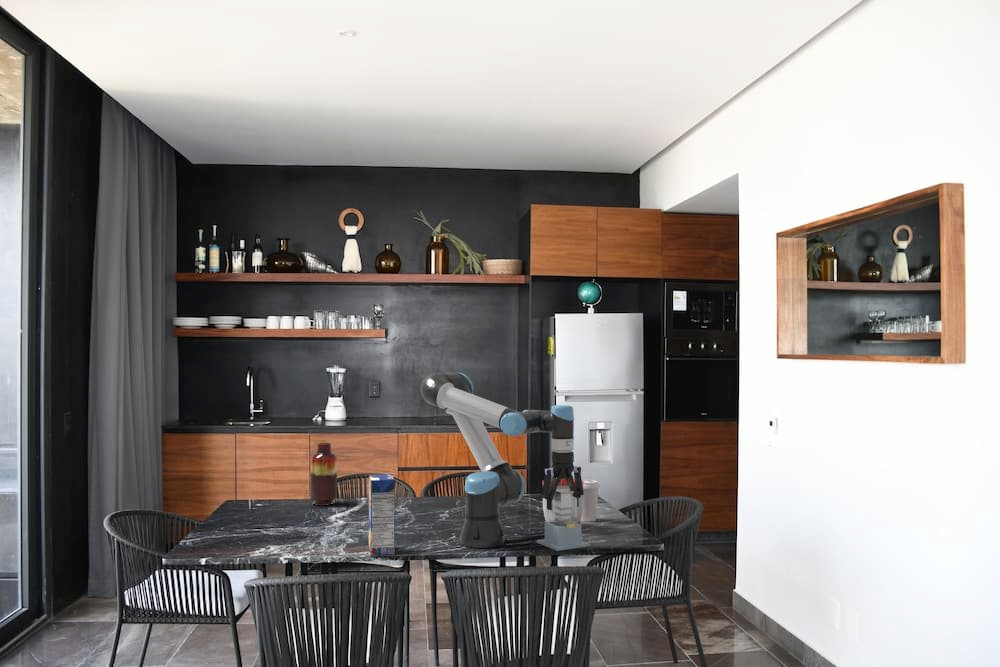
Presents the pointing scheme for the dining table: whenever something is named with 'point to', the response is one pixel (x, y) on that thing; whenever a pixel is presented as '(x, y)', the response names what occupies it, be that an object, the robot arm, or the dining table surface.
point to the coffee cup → (590, 500)
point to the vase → (323, 475)
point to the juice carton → (381, 515)
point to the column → (563, 507)
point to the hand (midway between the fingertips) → (562, 518)
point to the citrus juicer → (564, 485)
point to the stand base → (562, 536)
